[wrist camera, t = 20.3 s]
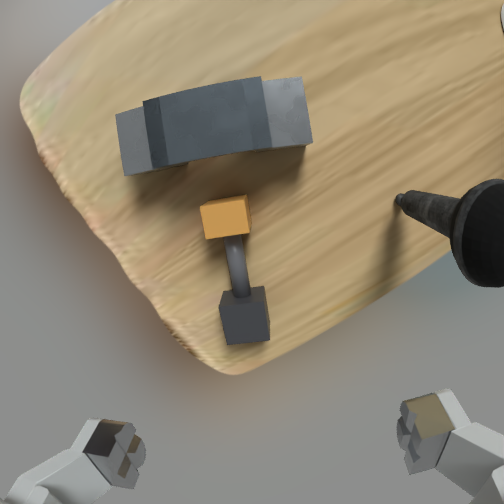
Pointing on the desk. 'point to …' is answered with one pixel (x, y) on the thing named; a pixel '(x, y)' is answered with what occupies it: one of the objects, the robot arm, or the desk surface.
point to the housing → (213, 123)
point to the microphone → (467, 227)
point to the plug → (237, 272)
